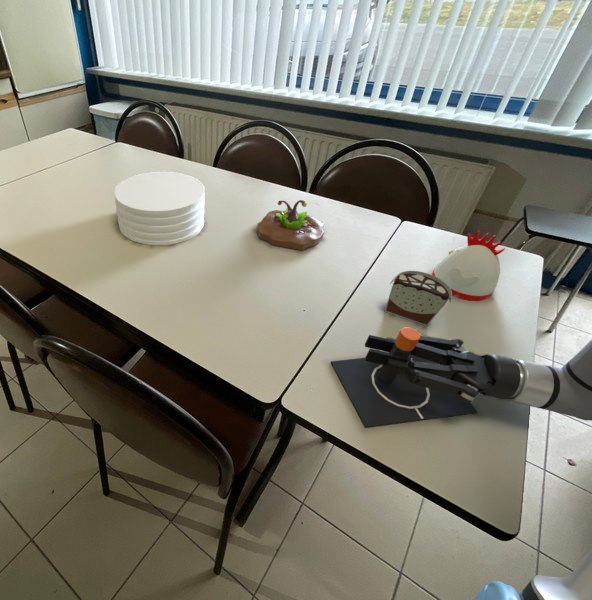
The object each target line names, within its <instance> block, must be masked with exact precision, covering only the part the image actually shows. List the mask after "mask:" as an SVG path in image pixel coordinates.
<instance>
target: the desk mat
mask: <svg viewBox="0 0 592 600" xmlns="http://www.w3.org/2000/svg"><path fill="white" fill-rule="evenodd" d="M411 359H413V360H414V362H421V363H429V364H437V365H440V364H439V363H436V362H432V361H429V360H426V359H423V358H420V357H417V356H414V355H410V354H409V356H408V361H407V362H408V363H409V361H410V360H411ZM330 365H331V366H332V368H333V370H334V373H335V374H336V375H337V377H338V379H339V381H340V383H341V385H342V388H343V389H344V391H345V392H346V395H347V396H348V398H349V400H350V402H351V403H352V406H353V408H354V410H355V412H356V413H357V415H358V417H359V419H360V421H361V424H362V425H363V426H364V428H365V429H366V428H374V427H381V426H389V425H396V424H404V423H412V422H419V421H427V420H428V421H429V420H434V419H443V418H451V417H458V416H466V415H473V414H477V413H478V410H477V409H476V408H475V406H474V405H473V404H472V402H471V403H467V402H465V401H463V400H461V399H459V398H457V397H456V396H452V395H449V394H446V393H442V392H439V391H436V390H432V389H429V388H426V387H422V386H419V385H416V384H413V383H410V382H409V377H408V375H407V374H405V373H404V372H402V371H399V372H398V374H397V376H396V377H395V379H394V381H393V382H392V383H391V384H385V383H382V382H381V381H380V380H379V379H378V377H377V374H378V372H379V370H380V369H381V367H382V365H381V364H377V363H373V362H368V361H365V357H359V358H358V357H357V358H349V359H342V360H339V359H338V360H333V361H332V360H331V361H330ZM419 379H420V378H419Z"/></svg>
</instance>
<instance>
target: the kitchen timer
mask: <svg viewBox="0 0 592 600" xmlns="http://www.w3.org/2000/svg"><path fill="white" fill-rule="evenodd" d="M496 235H497V234H494V235H493V236H492V237H490V239H488V241H487V238H488V236H489V232H487V233H486V234H484V235H483V237H481V238H479V237H480V229H478V230H477V231H476V233H475V234H474V236H472V234H471V232H468V233H467V239H466V240H467V244H465V245H462V246H459V247H457V248H456V249H453V250H450V251H448V253H447V255H446V256H444V257H443V259H441V261H439V263H438V264H437V265H436V266H435V268H434V269H433V270H432V272H431V275H433V276H435V277H437V278H439V279H441V280H442V281H444V282H445V283H446V284H447V285H448V286H449V287H450V289H451V291H452V297H454V298H456V299H460V300H464V301H468V302H469V301H470V302H480V301H485V300H487V299H489V298H490V297H491V296H492V294H493V293H494V292H495V290H496V288H497V285H498V283H499V279H500V275H501V263H500V259H499V254H501V253H503V252H504V251H505V249H506V248H505V247H503V248H501V249H499V250H496V248H497V247H498V246H500V245H501V243H502V241H498V242H496V243H494V241H495V239H496Z"/></svg>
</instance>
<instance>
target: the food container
mask: <svg viewBox="0 0 592 600" xmlns="http://www.w3.org/2000/svg"><path fill="white" fill-rule="evenodd" d="M391 284H392V286H391V289H390V293H389V296H388V299H387V302H386V306H385V308H384V312H385V313H388V314H390V315H394V316H396V317H400V318H402V319H405V320H407V321H410V322H414V323H415V324H416V323H417V324H419V325H423V326H425V327H428V326H429V324H430V323H431V322H432V321H433V320H434V319H435V317H436V316H437V315H438V313H439V312H440V311H441V310H442V309H443V307H444V306H445V305H446V304H447V303H449V304H451V302H452V300H453V296H452V291H451V289H450V287H449V286H448V285H447V284H446V283H445V282H444V281H442V280H441V279H439V278H437V277H435V276H433V275H432V273H429V272H428V273H427V272H424V271H419V270H405V271H402V272H399V273H398V274H397V275H395V276H394V277H393V278H392V280H391V281H390V282H389V285H391ZM448 301H449V302H448Z"/></svg>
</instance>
